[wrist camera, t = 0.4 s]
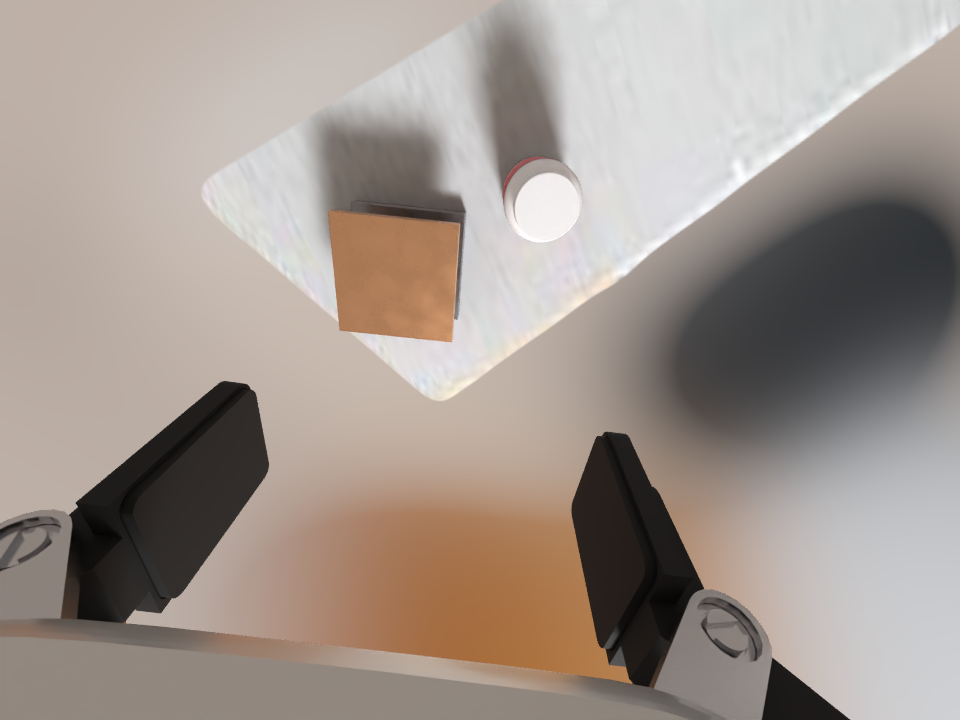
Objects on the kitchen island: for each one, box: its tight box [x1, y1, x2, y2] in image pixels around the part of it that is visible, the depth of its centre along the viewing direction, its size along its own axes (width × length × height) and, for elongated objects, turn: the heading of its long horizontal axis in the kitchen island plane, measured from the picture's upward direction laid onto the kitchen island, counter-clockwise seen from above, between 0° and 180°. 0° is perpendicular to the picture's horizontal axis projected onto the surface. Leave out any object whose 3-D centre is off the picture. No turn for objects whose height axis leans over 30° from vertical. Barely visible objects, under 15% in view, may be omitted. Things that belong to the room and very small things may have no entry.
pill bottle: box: [503, 156, 582, 242], centre depth 32 cm, size 6×6×11 cm
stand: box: [328, 201, 466, 342], centre depth 37 cm, size 11×11×7 cm
